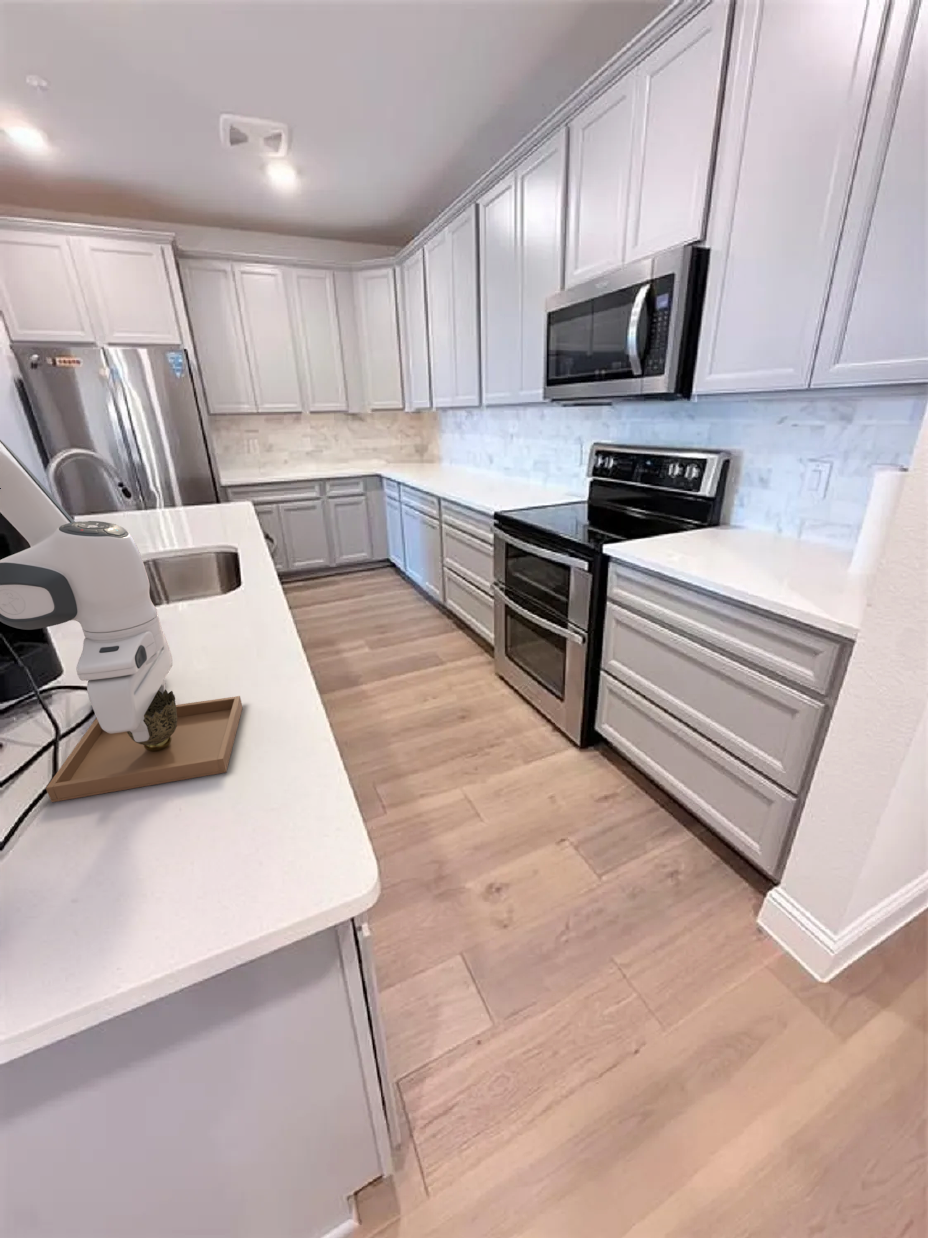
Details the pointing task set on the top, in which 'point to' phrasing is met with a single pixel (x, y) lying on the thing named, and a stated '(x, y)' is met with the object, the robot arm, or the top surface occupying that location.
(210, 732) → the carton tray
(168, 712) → the cup
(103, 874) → the top surface
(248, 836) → the top surface
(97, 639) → the robot arm
